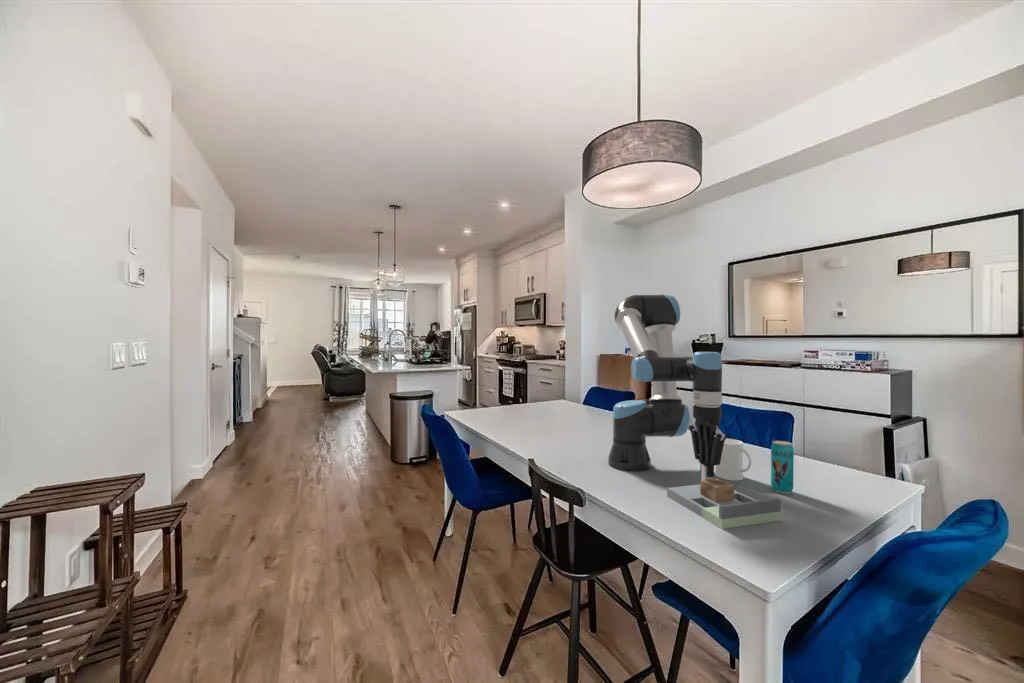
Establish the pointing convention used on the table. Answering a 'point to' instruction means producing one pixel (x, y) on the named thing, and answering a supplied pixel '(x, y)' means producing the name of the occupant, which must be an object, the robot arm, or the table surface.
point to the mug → (732, 461)
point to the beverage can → (782, 467)
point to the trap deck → (727, 507)
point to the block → (717, 490)
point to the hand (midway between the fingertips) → (707, 486)
